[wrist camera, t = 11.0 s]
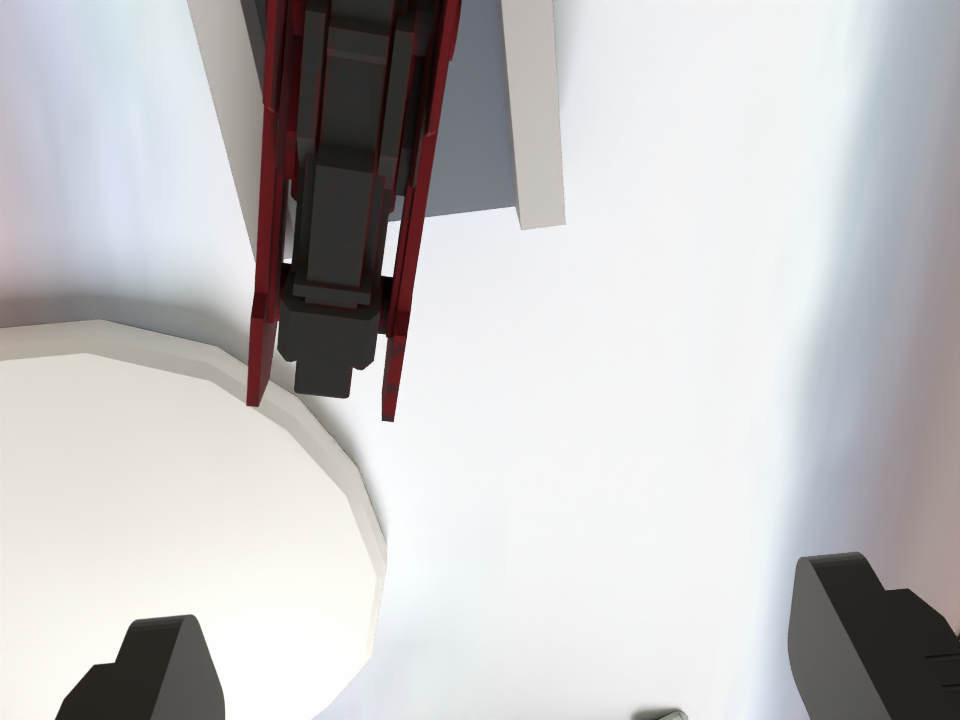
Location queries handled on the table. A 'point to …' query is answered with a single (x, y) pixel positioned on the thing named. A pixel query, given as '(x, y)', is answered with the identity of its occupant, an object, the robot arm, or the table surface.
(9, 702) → the decorative plate
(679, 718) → the metal bracket
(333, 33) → the mechanical component
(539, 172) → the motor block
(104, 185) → the table surface
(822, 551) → the table surface
